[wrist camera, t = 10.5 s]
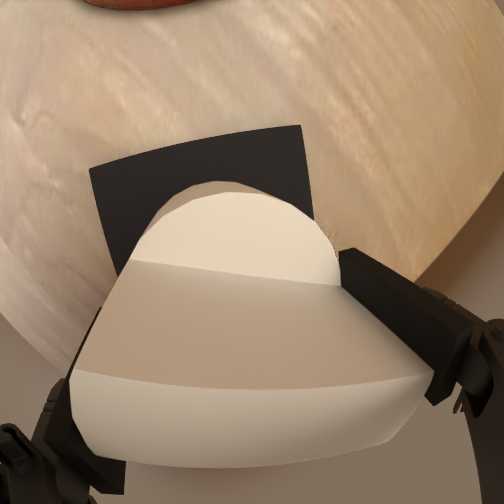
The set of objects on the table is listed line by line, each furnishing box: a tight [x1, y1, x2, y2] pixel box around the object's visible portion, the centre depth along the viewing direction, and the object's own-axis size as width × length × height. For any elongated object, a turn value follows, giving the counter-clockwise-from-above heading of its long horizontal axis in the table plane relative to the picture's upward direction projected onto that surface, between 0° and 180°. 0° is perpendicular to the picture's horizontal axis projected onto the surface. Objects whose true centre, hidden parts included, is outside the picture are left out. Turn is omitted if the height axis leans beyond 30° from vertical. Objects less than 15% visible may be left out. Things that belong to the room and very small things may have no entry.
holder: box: [89, 125, 314, 277], centre depth 19 cm, size 14×14×1 cm
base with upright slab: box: [69, 181, 434, 468], centre depth 11 cm, size 9×9×12 cm
